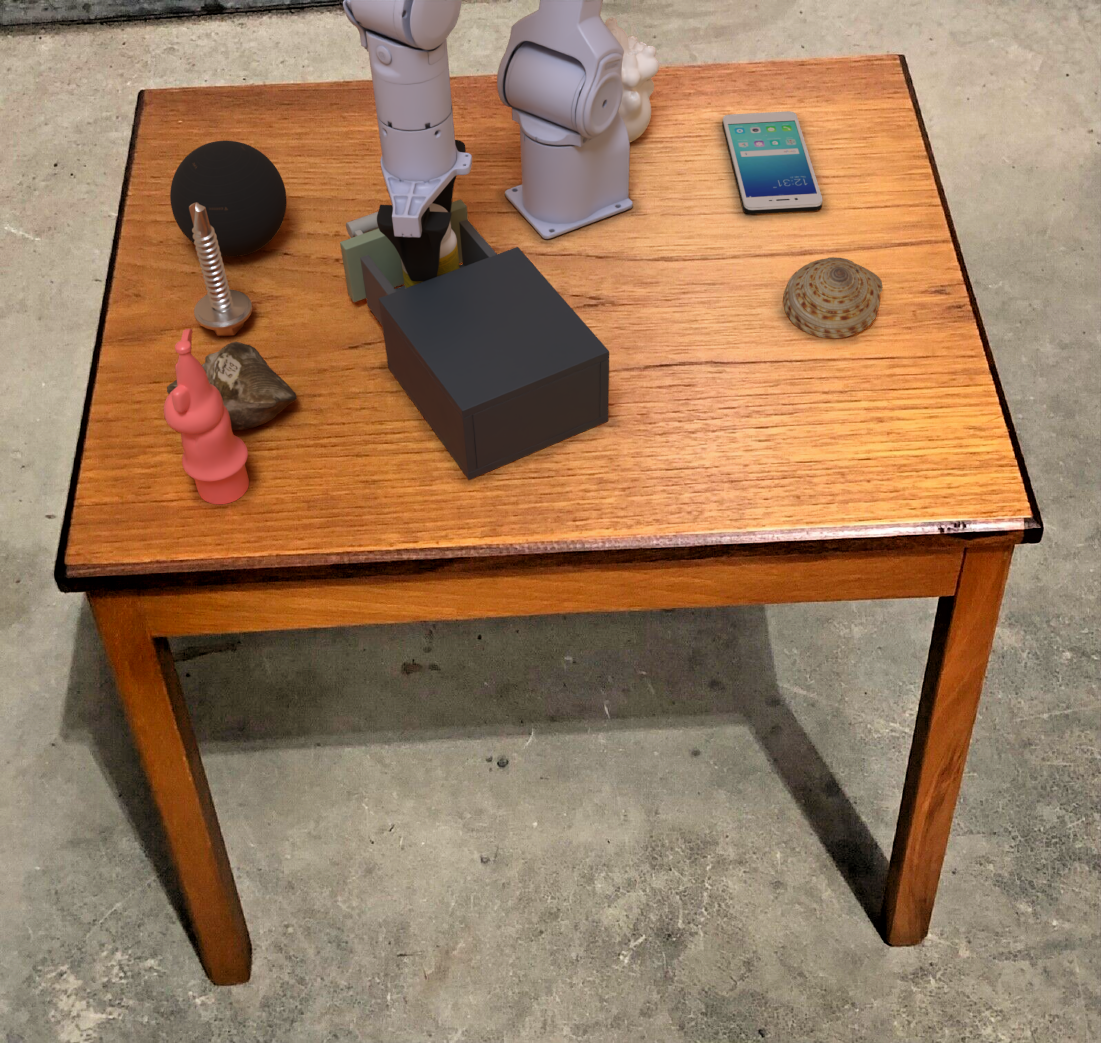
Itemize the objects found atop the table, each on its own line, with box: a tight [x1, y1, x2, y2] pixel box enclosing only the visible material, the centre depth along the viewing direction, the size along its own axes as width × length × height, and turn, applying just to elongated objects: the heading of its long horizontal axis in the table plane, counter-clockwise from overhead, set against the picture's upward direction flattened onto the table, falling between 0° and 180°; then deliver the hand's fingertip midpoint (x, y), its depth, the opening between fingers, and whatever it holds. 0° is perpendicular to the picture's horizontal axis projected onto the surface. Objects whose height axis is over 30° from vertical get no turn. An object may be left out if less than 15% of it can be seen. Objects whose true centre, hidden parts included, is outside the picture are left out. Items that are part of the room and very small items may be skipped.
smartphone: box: [721, 110, 823, 215], centre depth 136 cm, size 8×1×15 cm
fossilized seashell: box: [166, 341, 298, 431], centre depth 115 cm, size 8×7×10 cm
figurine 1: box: [163, 328, 250, 505], centre depth 105 cm, size 5×5×15 cm
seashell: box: [782, 256, 883, 339], centre depth 122 cm, size 8×6×8 cm
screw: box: [189, 202, 253, 337], centre depth 118 cm, size 13×5×5 cm
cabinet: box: [379, 246, 610, 481], centre depth 114 cm, size 15×13×8 cm
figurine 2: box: [604, 17, 660, 143], centre depth 135 cm, size 7×7×12 cm
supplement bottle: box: [401, 203, 460, 288], centre depth 119 cm, size 5×5×8 cm
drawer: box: [339, 199, 498, 326], centre depth 121 cm, size 18×11×6 cm, turn 29°
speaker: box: [169, 140, 287, 258], centre depth 126 cm, size 10×10×10 cm
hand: (429, 252), depth 118 cm, fingers open, 6 cm apart
